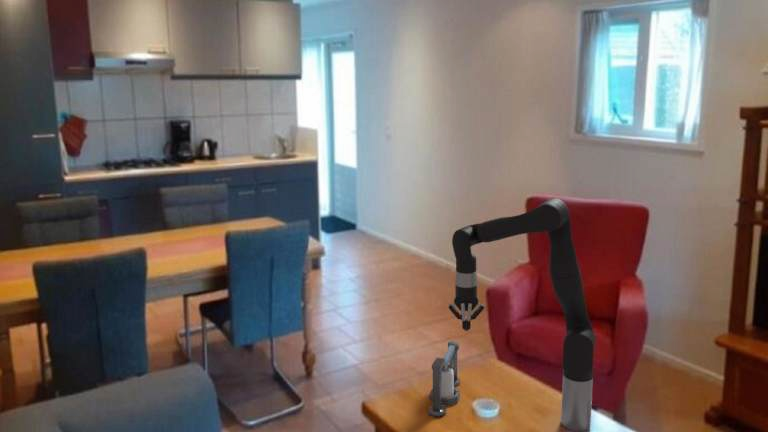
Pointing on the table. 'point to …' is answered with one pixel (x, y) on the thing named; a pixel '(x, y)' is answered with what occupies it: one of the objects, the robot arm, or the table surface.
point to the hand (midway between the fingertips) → (466, 329)
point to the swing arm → (450, 353)
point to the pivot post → (454, 368)
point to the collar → (449, 400)
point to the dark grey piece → (437, 390)
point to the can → (447, 382)
